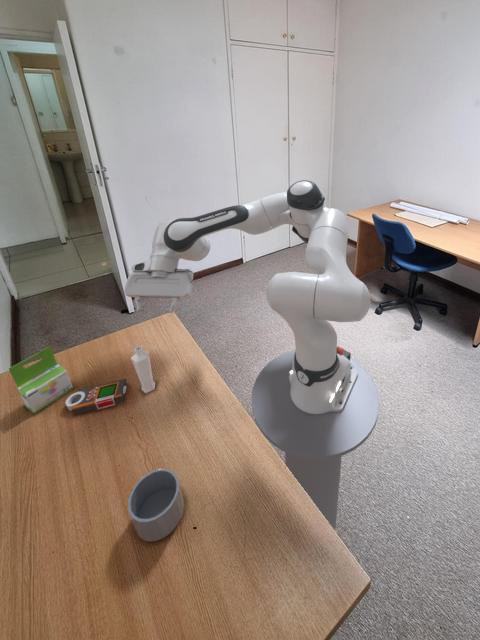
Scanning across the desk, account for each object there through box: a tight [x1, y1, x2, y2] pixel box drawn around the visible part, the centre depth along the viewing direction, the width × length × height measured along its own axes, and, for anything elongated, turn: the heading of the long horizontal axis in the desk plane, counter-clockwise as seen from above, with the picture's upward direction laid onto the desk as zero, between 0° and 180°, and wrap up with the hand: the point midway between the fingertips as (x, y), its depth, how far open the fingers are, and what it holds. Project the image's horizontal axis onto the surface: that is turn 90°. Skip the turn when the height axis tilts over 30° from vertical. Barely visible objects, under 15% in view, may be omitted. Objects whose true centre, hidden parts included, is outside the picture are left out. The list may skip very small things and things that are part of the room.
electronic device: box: [64, 378, 128, 416], centre depth 92 cm, size 7×3×15 cm
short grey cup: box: [127, 468, 185, 542], centre depth 66 cm, size 9×9×7 cm
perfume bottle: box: [130, 345, 156, 394], centre depth 93 cm, size 5×4×15 cm
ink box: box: [8, 345, 74, 415], centre depth 90 cm, size 10×5×14 cm, turn 148°
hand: (154, 312), depth 100 cm, fingers open, 8 cm apart
